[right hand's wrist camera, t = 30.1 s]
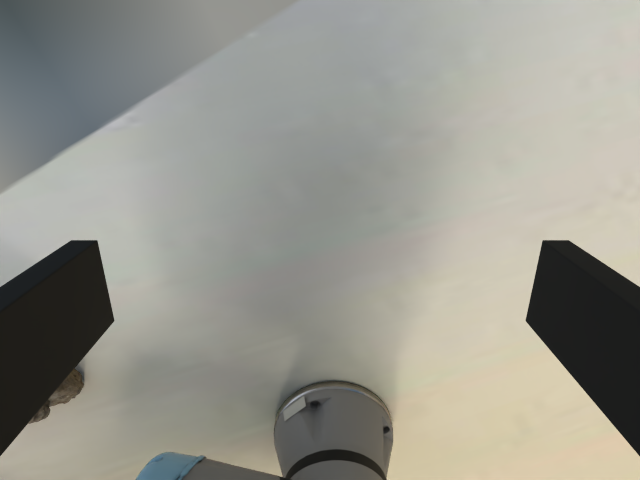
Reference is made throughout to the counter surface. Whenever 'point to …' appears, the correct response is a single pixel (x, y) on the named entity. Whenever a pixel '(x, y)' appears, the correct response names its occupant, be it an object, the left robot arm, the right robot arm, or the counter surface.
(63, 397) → the fossil
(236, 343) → the counter surface
